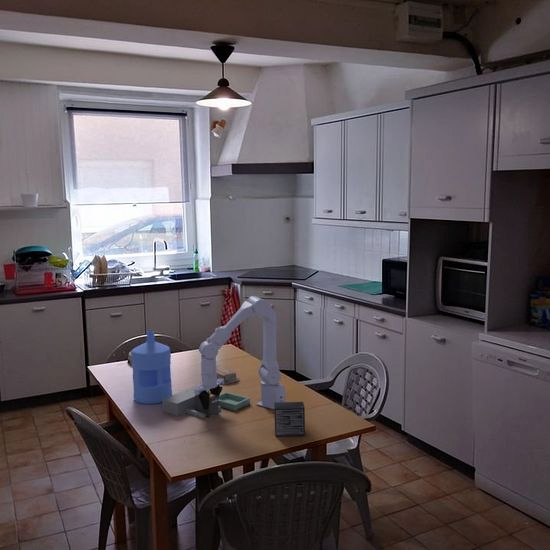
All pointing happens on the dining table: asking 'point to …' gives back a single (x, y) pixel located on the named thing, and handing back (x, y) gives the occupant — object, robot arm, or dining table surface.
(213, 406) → the grey block orange panel
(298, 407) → the small box
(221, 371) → the packaged product
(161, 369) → the water jug
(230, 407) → the tray
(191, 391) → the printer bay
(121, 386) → the dining table surface
